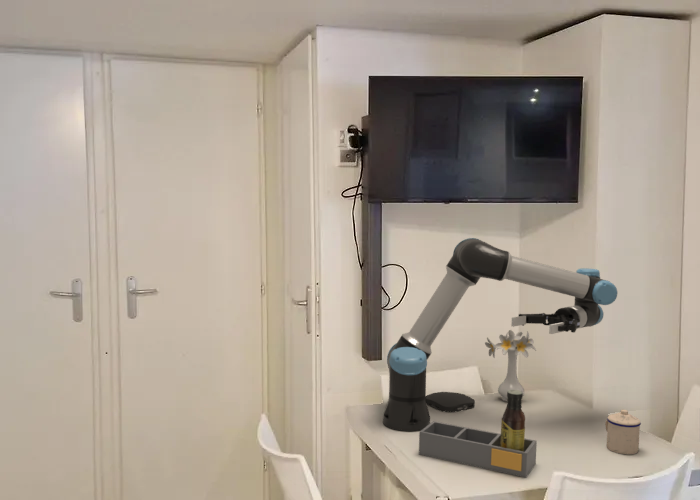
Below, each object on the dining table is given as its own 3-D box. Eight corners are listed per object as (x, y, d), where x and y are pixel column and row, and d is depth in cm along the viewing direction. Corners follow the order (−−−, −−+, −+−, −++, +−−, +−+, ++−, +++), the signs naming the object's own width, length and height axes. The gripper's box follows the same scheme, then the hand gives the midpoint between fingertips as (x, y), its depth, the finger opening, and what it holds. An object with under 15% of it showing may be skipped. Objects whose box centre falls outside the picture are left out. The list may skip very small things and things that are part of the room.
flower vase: (477, 397, 243) (480, 329, 241) (519, 392, 250) (522, 326, 248) (499, 408, 231) (501, 337, 229) (542, 403, 238) (545, 333, 236)
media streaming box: (452, 397, 245) (452, 388, 244) (479, 408, 232) (479, 399, 232) (420, 402, 237) (420, 394, 237) (446, 414, 225) (446, 406, 224)
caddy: (418, 454, 188) (418, 432, 188) (432, 442, 198) (433, 421, 198) (525, 478, 174) (526, 453, 174) (535, 463, 184) (536, 440, 183)
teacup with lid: (646, 453, 193) (648, 414, 192) (619, 456, 190) (622, 416, 189) (618, 438, 204) (620, 401, 203) (592, 441, 201) (594, 403, 200)
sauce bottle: (498, 457, 185) (501, 386, 184) (521, 458, 184) (524, 388, 183) (500, 466, 179) (503, 393, 177) (524, 468, 178) (527, 395, 176)
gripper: (604, 336, 208) (566, 345, 195) (536, 323, 227) (497, 331, 214) (606, 312, 208) (568, 319, 194) (537, 301, 227) (498, 307, 213)
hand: (530, 325), depth 204 cm, fingers open, 13 cm apart
